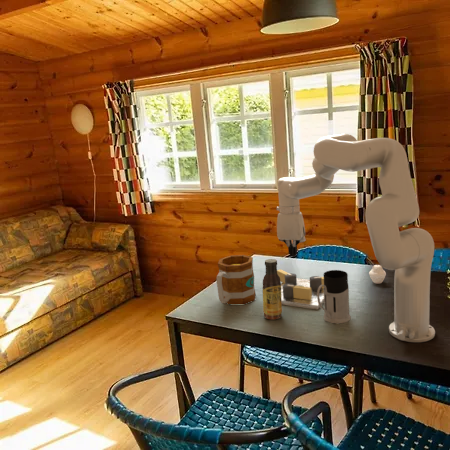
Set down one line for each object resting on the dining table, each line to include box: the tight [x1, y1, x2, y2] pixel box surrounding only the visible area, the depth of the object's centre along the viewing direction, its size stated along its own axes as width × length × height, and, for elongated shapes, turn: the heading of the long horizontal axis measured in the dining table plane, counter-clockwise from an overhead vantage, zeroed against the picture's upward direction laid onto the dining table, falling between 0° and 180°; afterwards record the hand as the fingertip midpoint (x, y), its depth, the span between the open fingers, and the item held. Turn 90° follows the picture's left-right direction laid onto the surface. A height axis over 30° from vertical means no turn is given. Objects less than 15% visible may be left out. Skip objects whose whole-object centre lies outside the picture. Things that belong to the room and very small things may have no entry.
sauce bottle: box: [262, 258, 283, 321], centre depth 150 cm, size 6×6×20 cm
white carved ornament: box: [368, 264, 387, 285], centre depth 173 cm, size 6×6×7 cm
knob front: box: [283, 284, 312, 300], centre depth 162 cm, size 10×4×4 cm, turn 59°
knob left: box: [277, 269, 297, 286], centre depth 176 cm, size 10×4×4 cm, turn 26°
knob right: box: [309, 275, 324, 291], centre depth 168 cm, size 10×4×4 cm, turn 87°
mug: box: [216, 254, 256, 305], centre depth 167 cm, size 20×14×15 cm
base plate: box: [281, 277, 324, 311], centre depth 169 cm, size 22×20×4 cm
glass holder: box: [317, 269, 352, 324], centre depth 145 cm, size 9×14×15 cm, turn 133°
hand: (293, 255), depth 176 cm, fingers closed
